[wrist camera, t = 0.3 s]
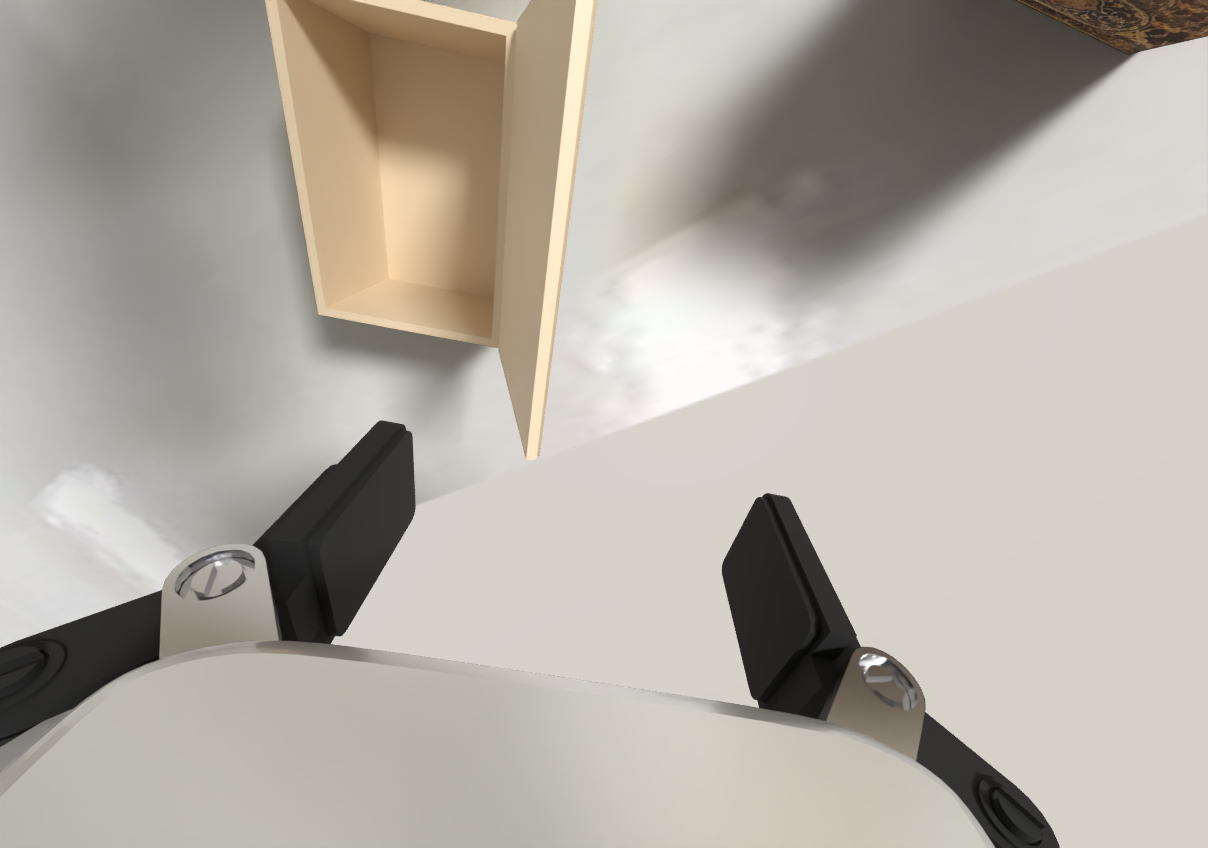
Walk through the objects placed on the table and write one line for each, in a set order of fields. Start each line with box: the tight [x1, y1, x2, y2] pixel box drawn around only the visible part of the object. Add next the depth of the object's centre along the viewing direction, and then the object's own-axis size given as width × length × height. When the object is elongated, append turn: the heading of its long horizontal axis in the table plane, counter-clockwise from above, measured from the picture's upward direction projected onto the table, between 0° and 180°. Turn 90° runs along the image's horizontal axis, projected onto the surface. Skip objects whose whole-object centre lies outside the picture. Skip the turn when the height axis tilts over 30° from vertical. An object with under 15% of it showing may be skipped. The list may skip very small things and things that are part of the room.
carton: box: [265, 0, 517, 348], centre depth 30 cm, size 18×13×10 cm
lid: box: [498, 0, 597, 460], centre depth 21 cm, size 18×13×1 cm
